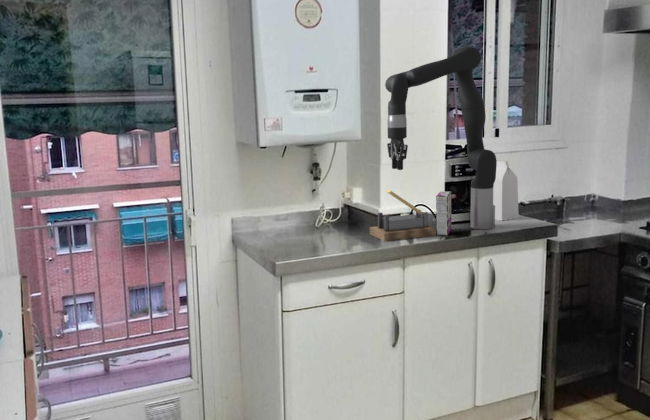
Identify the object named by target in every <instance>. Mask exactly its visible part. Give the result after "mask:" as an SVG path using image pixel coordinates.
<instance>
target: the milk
mask: <svg viewBox="0 0 650 420" xmlns="http://www.w3.org/2000/svg"><path fill="white" fill-rule="evenodd" d="M518 183H519V181H518V176H517V175H516V174H515V173H514V171H513V170H512V169H511V168H510V167H509V163H508V161H507V160H497V166H496V179H495V182H494V187H493V205H495V219H496V220H495V221H499V220H504V221H508V220H507V219H509V220H513V219H512V218H514V219H518V218H517V217H519V189H518V186H519V184H518ZM519 218H520V217H519Z"/></svg>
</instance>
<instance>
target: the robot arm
mask: <svg viewBox="0 0 650 420" xmlns="http://www.w3.org/2000/svg"><path fill="white" fill-rule="evenodd" d="M481 60H482V55H481V52H480V51H479V49H478V48H476V47H474V46H464V47H459V48H457V49H456V50H455V51H453V53H452V55H451V56H449V57H446V58H445V59H444V58H443V59H440V60H437V61H432V62H428V63H425V64H422V65H419V66H416V67H414V68H411V69H409V70H407V71H403V72H399V73H396V74H393V75H391V76H389V77H388V78H387V79H386V80H385V83H384V84H385V85H384V86H385V89H386V90H387V92H389V93H390V96H391V97H390V100H389V101H388V103H387V139H389V140H390V142H387V144H386V145H387V152H388V158H390V160H391V169H393V170H397V171H402V170H404V161H405V160H406V159H407V154H408V153H407V152H408V147H409V146H408V144H405V142H404V141H405V140H404V139H407V136H408V135H407V134H408V133H407V131H408V130H407V129H408V128H407V124H408V123H407V105H406V103H407V98H408V93H409V88H413V87H419V86H421V85H424V84H427V83H430V82H432V81H435V80H438V79H439V78H442V77H446V76H447V75H451V74H454V76H455V80H456V84H457V89H458V96H459V97H458V98H459V101H460V102H459V103H460V109H461V114H462V115H461V116H462V120H463V126H464V133H465V138H466V151H467V152H466V154H467V163H468V166H469V168H471V169H472V170H473V171H476V172H475V177H474V179H472V180H471V181H470V220H469V221H470V223H469V224H470V228H471V229H474V230H475V229H476V230H490V229H493V228H495V227H496V225H495V224H496V220H495V205H493V187H494V182H495V179H496V166H497V161H498V160H497V156H496V153H494V152H493V151H492V150H491V149H485V145H484V141H483V132H484V127H485V123H486V110H485V109H486V108H485V104H484V103H485V102H484V99H483V97H482V94H481V93H480V91H479V89H478V88H477V84H476V82H475V81H474V75H473V70H475V69H476V68H477V67H478V66H479V65H480V63H481Z"/></svg>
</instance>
